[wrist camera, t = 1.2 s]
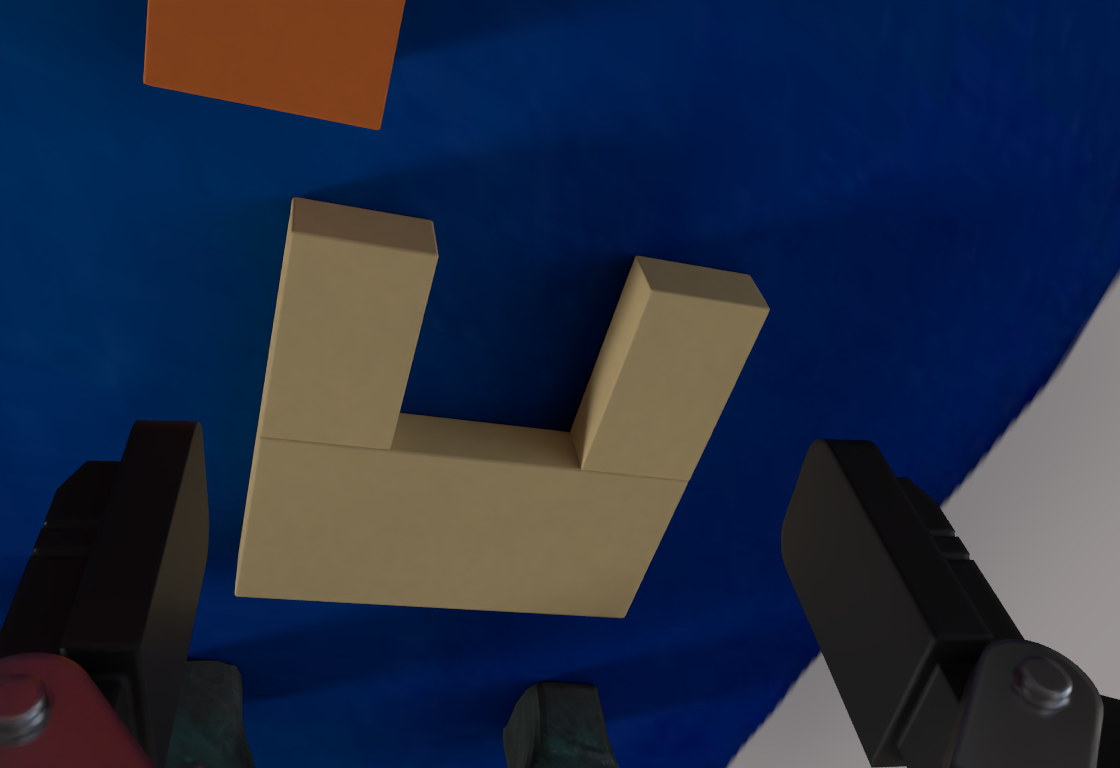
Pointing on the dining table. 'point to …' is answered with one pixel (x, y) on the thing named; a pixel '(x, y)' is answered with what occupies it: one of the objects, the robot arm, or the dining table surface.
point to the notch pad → (471, 437)
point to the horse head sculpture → (529, 737)
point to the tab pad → (278, 53)
